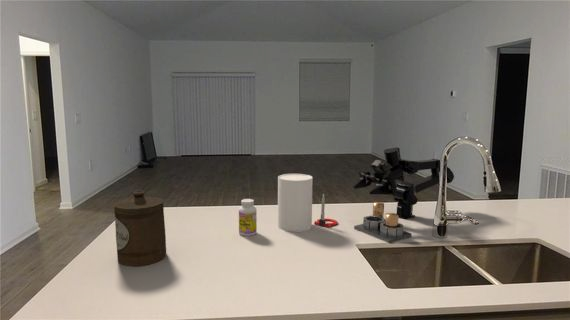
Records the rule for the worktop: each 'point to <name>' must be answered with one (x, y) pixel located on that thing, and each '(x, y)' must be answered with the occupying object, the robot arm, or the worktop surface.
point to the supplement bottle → (247, 218)
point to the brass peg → (378, 209)
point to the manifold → (383, 228)
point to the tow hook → (322, 221)
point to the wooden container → (140, 230)
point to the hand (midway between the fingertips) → (361, 190)
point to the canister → (295, 202)
